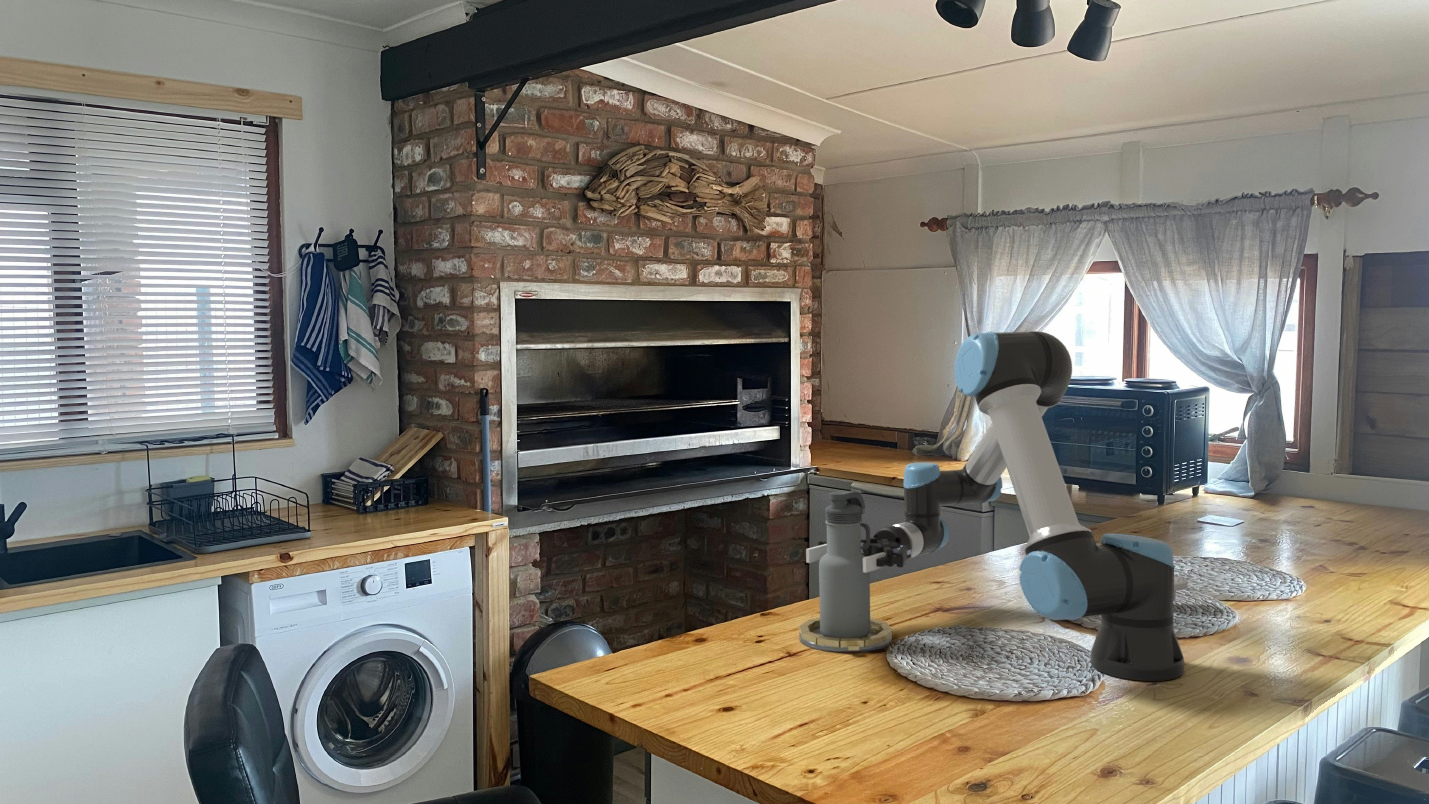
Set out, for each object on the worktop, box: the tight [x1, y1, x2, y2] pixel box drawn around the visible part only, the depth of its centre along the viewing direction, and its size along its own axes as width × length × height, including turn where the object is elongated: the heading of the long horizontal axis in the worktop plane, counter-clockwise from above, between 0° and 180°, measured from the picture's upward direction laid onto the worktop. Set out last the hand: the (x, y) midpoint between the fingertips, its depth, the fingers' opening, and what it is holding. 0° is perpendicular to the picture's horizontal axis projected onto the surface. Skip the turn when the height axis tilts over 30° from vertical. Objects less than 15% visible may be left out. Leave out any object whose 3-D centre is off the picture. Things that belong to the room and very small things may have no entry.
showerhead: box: [1173, 574, 1189, 602], centre depth 216 cm, size 9×7×10 cm
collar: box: [798, 617, 893, 654], centre depth 199 cm, size 22×18×2 cm
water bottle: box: [818, 490, 871, 639], centre depth 198 cm, size 10×10×28 cm
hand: (835, 560), depth 196 cm, fingers open, 13 cm apart
